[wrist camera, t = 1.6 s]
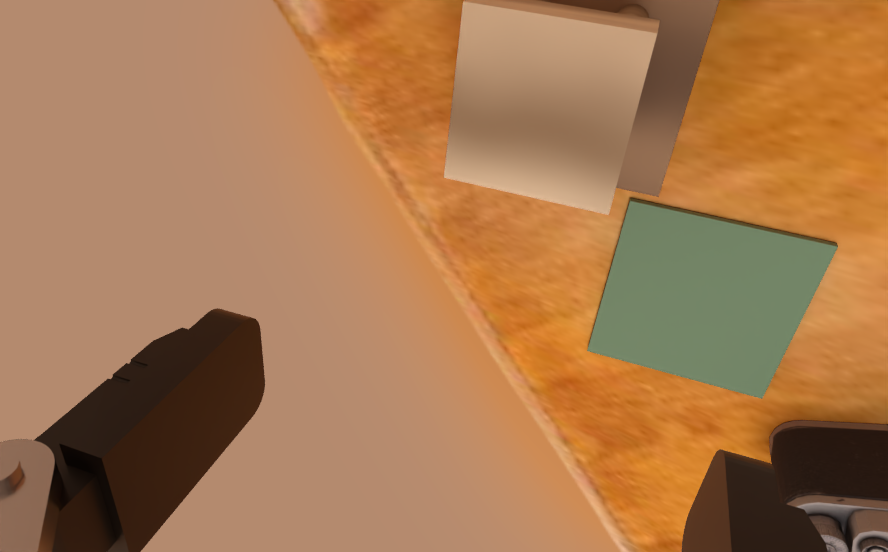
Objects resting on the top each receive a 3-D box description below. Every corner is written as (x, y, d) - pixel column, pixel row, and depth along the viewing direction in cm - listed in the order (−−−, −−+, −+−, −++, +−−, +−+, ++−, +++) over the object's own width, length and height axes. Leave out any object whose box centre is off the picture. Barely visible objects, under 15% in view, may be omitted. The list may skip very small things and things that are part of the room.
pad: (630, 197, 33) (630, 200, 33) (836, 243, 31) (838, 246, 31) (588, 346, 39) (587, 350, 38) (761, 394, 37) (762, 398, 36)
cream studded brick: (514, -23, 26) (463, 1, 20) (663, -1, 25) (657, 33, 19) (493, 118, 29) (443, 177, 23) (625, 145, 28) (608, 215, 22)
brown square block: (498, -87, 29) (474, -85, 26) (728, -57, 27) (734, -50, 23) (470, 126, 34) (448, 151, 31) (660, 166, 32) (658, 196, 29)
